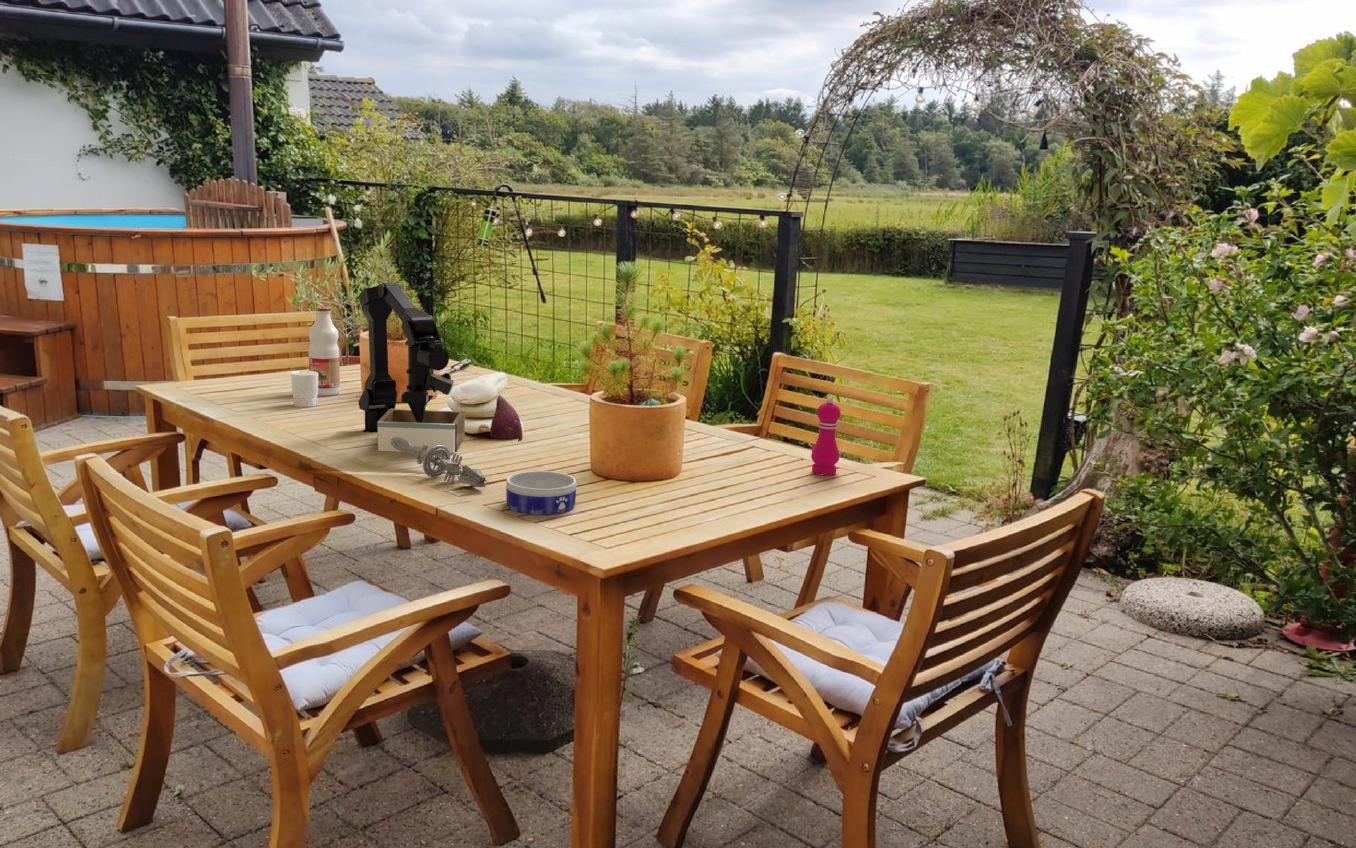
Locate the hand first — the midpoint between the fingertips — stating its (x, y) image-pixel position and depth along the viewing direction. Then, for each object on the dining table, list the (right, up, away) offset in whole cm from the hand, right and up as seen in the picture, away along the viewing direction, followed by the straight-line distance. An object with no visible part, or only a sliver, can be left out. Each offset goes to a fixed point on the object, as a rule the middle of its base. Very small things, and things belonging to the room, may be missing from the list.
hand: (419, 424), depth 268 cm
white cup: (-47, +6, +48) cm, 67 cm away
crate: (-1, -6, +6) cm, 8 cm away
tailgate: (0, -7, -3) cm, 8 cm away
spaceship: (+9, -13, -22) cm, 28 cm away
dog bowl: (+37, -18, -40) cm, 57 cm away
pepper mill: (+105, -13, 0) cm, 106 cm away
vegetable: (+19, -4, +19) cm, 27 cm away
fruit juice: (-47, +10, +66) cm, 82 cm away
